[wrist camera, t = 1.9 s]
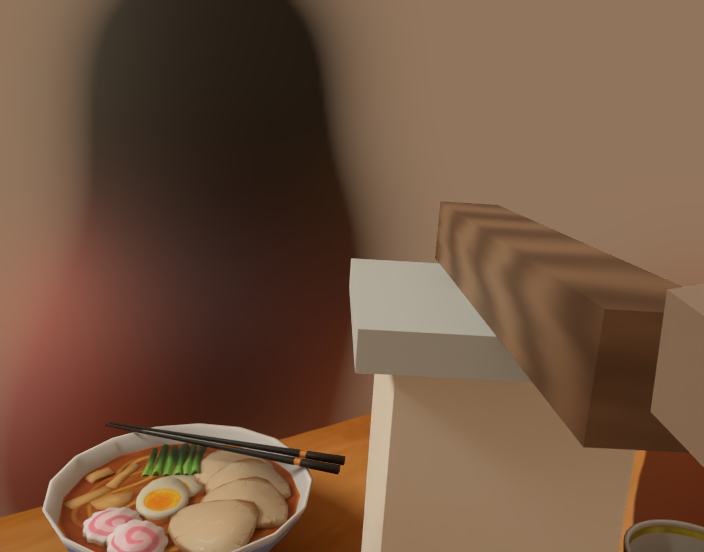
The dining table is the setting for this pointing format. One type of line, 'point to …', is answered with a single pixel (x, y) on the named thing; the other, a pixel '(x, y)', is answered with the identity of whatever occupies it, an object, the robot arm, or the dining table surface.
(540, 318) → the walnut block
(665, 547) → the ceramic cup
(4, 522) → the dining table surface
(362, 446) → the dining table surface
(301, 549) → the dining table surface
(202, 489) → the ramen bowl
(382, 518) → the stand
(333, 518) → the dining table surface
